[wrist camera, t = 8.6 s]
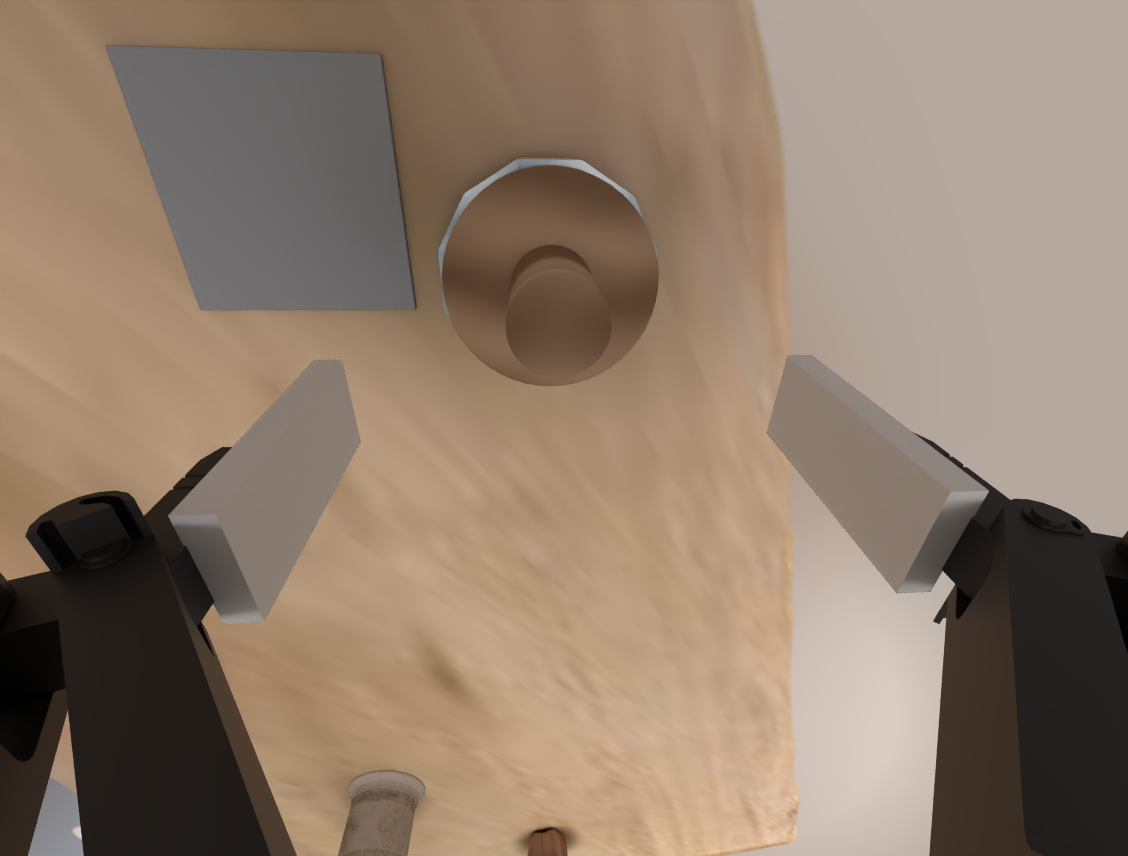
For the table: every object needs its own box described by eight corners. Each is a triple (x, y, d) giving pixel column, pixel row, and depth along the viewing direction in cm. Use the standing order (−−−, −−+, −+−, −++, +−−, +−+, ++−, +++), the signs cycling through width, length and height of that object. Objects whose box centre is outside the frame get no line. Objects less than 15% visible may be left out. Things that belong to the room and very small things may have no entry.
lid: (434, 163, 25) (396, 170, 18) (664, 166, 26) (718, 175, 19) (456, 377, 31) (434, 448, 24) (642, 374, 32) (676, 443, 25)
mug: (376, 762, 62) (347, 885, 52) (439, 785, 66) (423, 904, 56) (315, 807, 67) (277, 928, 56) (378, 826, 71) (352, 943, 60)
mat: (110, 46, 26) (105, 45, 26) (381, 55, 27) (380, 53, 26) (203, 308, 33) (200, 310, 32) (416, 308, 34) (415, 309, 33)
